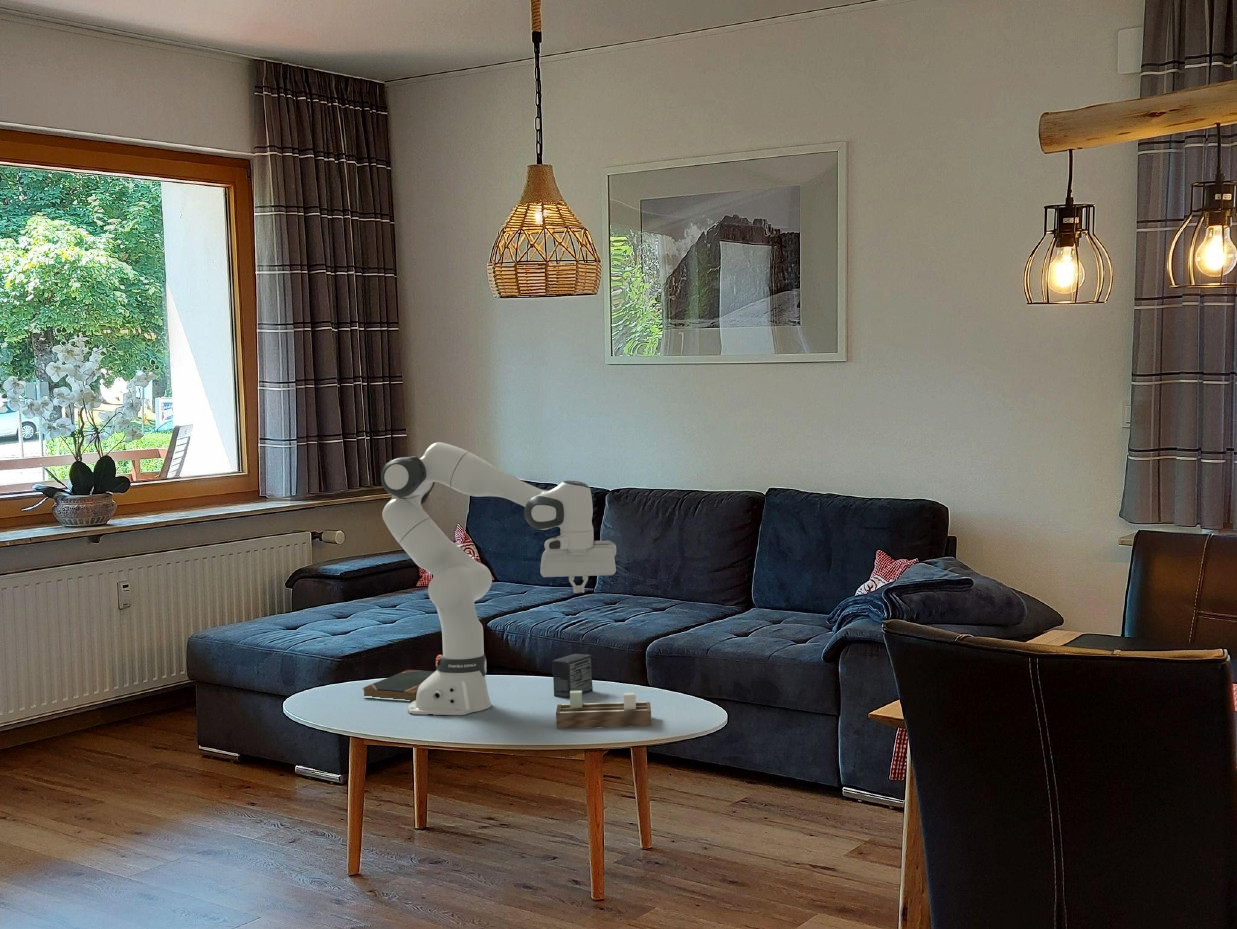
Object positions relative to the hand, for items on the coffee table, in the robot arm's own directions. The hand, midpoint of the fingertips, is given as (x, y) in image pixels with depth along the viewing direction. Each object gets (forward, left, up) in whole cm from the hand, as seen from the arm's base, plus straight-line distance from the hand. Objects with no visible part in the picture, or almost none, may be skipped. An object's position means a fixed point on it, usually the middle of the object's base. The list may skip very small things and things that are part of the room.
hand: (578, 592), depth 339 cm
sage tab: (-1, -15, -29) cm, 33 cm away
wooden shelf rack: (+6, -17, -31) cm, 36 cm away
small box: (-3, +16, -31) cm, 35 cm away
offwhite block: (+13, -19, -29) cm, 37 cm away
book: (-50, +26, -32) cm, 65 cm away
